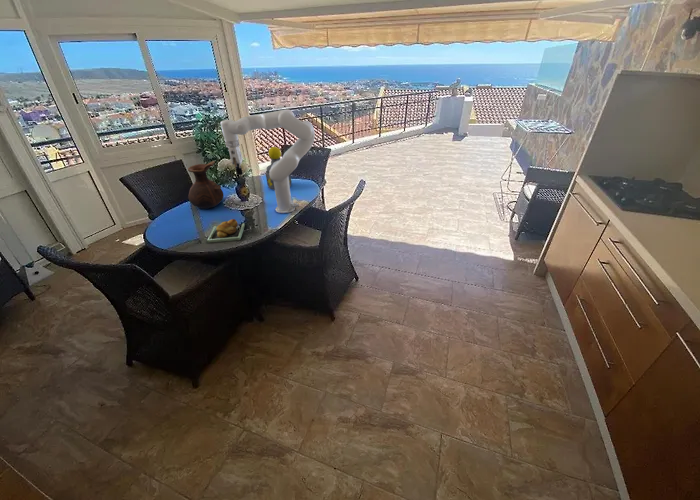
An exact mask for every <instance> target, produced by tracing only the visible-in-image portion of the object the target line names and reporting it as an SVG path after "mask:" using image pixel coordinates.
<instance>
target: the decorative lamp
mask: <svg viewBox="0 0 700 500" xmlns="http://www.w3.org/2000/svg"><path fill="white" fill-rule="evenodd" d="M281 156H282V151H281V149H280V148H279V147H277V146H271V147H270V148H269V150H268V157H269V158H270V164H269V165H267V166H266V171H265V179H266V185H267V187H268V188H269V189H270V190H272V191H275V188H274V182H273V180H272V179H271V178H270V176H269V171H270V169H271V166H272V165H273V163H274V162H276V161H279V160H280V159H281V158H282V157H281ZM289 185H290V187H292V176H291V174H290V175H289Z"/></svg>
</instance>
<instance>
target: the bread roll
mask: <svg viewBox="0 0 700 500" xmlns="http://www.w3.org/2000/svg"><path fill="white" fill-rule="evenodd" d="M238 225H239V223H238V221H237V220H236V218H231V219H229V220H228V221H227V220H226V221H221V223H220V224H218V225H216V226H217V228H216V236H217V237H218V238H228V237H229V236H231V235H233V234H235V233H236V232H237V228H238Z"/></svg>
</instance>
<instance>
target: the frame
mask: <svg viewBox="0 0 700 500" xmlns="http://www.w3.org/2000/svg"><path fill="white" fill-rule="evenodd" d="M217 226H218V225H213V227H212V229H211V231H210V233H209V235H208V238H207V239H206V243H207V244H209V243H220V242H231V241H240V240H241V238H242V236H243V233H244V229H245V227H246V224H245V222H243V223H242V224H241V227H240V230H239V232H238V236H232V237H231V236H230V237H225V238H219V237H218V238H213V237H214V235H215V233H216V232H217V230H216V228H217Z"/></svg>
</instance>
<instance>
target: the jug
mask: <svg viewBox="0 0 700 500" xmlns="http://www.w3.org/2000/svg"><path fill="white" fill-rule="evenodd" d="M215 163H216V161H214V160H212V161H210V162H208V163H207V164H206V163H197V164H194V165H190V166H189V167H188V168H187V171H188V172H189V173H193V175H194V179H195V180H194V182H193V183H192V185H191V186H190V188H189V191H188V196H187V199H188V201H189V202H190V204H191V205H192V206H194V207H197V208H198V209H203V210H206V209H207V210H209V209H212V208H214V207H217V206H218V205H219V204H220V203H221V202H222V201H223V200H224V195H225V194H224V191H223V190H222V188H221V187H222V186H221V185H219V184H217V183H216V182H215V181H213V180H211V179H209V178H208V175H207V172H208V171H209V170H210V169H211V167H214V164H215Z"/></svg>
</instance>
